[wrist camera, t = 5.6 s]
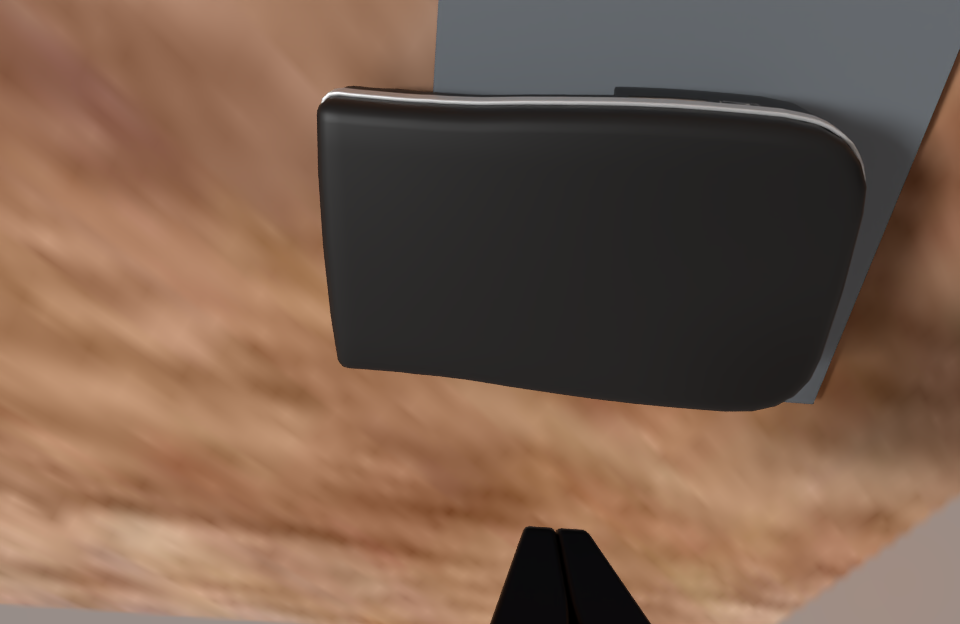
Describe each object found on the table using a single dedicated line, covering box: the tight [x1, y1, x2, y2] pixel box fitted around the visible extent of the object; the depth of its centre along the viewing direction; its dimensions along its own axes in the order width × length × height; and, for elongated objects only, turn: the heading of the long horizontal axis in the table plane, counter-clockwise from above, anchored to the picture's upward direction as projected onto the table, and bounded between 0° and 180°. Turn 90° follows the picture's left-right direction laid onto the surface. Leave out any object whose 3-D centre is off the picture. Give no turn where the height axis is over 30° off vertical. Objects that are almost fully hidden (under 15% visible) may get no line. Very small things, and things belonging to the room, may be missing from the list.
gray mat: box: [433, 0, 960, 404], centre depth 18 cm, size 12×16×1 cm
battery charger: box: [317, 86, 867, 411], centre depth 17 cm, size 7×4×11 cm
